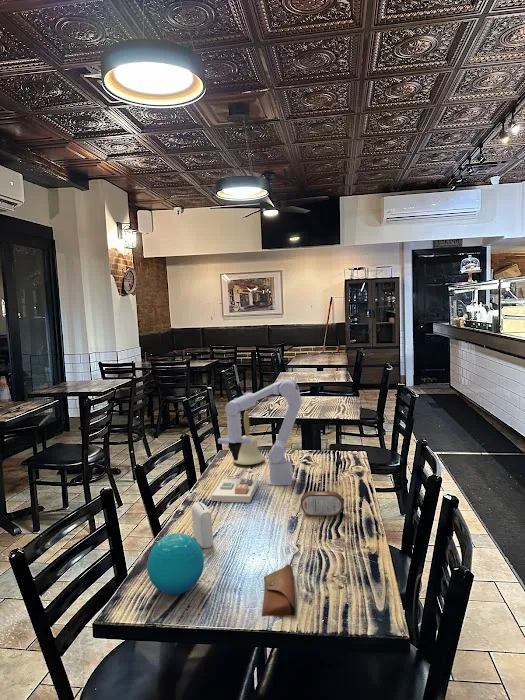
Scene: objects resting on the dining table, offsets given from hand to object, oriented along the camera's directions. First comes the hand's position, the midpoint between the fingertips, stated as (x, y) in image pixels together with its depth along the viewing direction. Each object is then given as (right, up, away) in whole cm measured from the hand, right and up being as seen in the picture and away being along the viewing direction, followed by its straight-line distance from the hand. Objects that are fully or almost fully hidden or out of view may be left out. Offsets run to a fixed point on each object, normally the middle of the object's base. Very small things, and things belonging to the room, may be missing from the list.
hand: (236, 459), depth 204 cm
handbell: (+5, -7, +24) cm, 26 cm away
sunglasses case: (+16, -17, -80) cm, 83 cm away
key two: (+3, -9, -17) cm, 20 cm away
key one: (+5, -10, -9) cm, 14 cm away
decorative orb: (-11, -18, -76) cm, 79 cm away
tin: (+33, -12, -35) cm, 49 cm away
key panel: (+1, -11, -12) cm, 16 cm away
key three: (-3, -10, -12) cm, 16 cm away
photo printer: (-8, -15, -50) cm, 53 cm away
